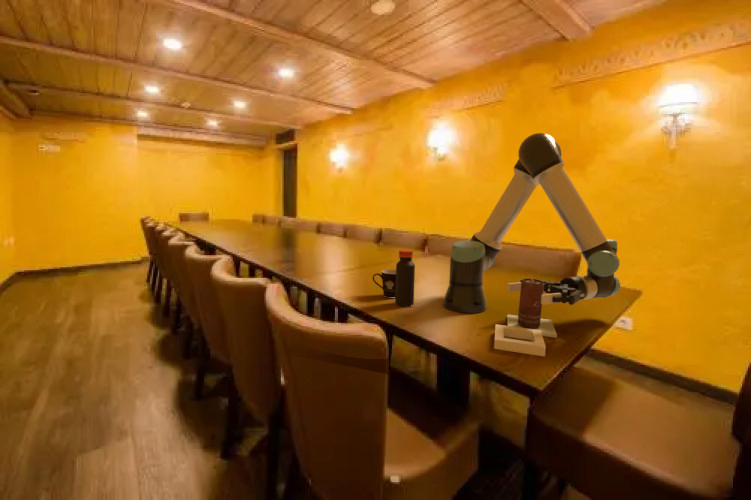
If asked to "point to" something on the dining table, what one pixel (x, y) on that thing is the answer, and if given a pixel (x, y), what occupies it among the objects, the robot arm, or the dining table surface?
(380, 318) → the dining table surface
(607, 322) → the dining table surface
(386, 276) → the coffee mug
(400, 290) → the bottle
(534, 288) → the can
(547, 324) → the rubber mat
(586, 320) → the dining table surface
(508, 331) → the cup holder
